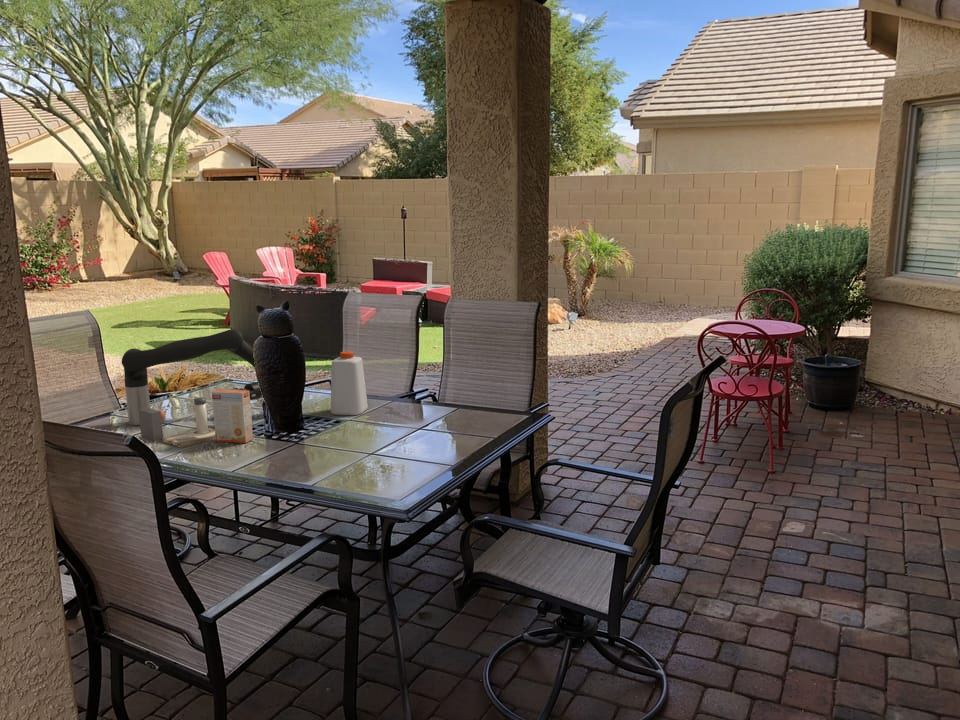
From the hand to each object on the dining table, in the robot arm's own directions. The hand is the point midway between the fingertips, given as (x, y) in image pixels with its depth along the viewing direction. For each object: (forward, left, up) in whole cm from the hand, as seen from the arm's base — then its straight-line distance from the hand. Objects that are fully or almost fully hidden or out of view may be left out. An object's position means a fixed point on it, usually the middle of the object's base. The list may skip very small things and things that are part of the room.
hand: (225, 397), depth 321 cm
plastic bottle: (+22, +50, -14) cm, 56 cm away
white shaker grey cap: (0, -12, -12) cm, 17 cm away
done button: (-13, -23, -7) cm, 27 cm away
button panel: (-13, -27, -14) cm, 33 cm away
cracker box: (+18, -9, -14) cm, 25 cm away
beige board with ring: (+2, -17, -14) cm, 22 cm away
